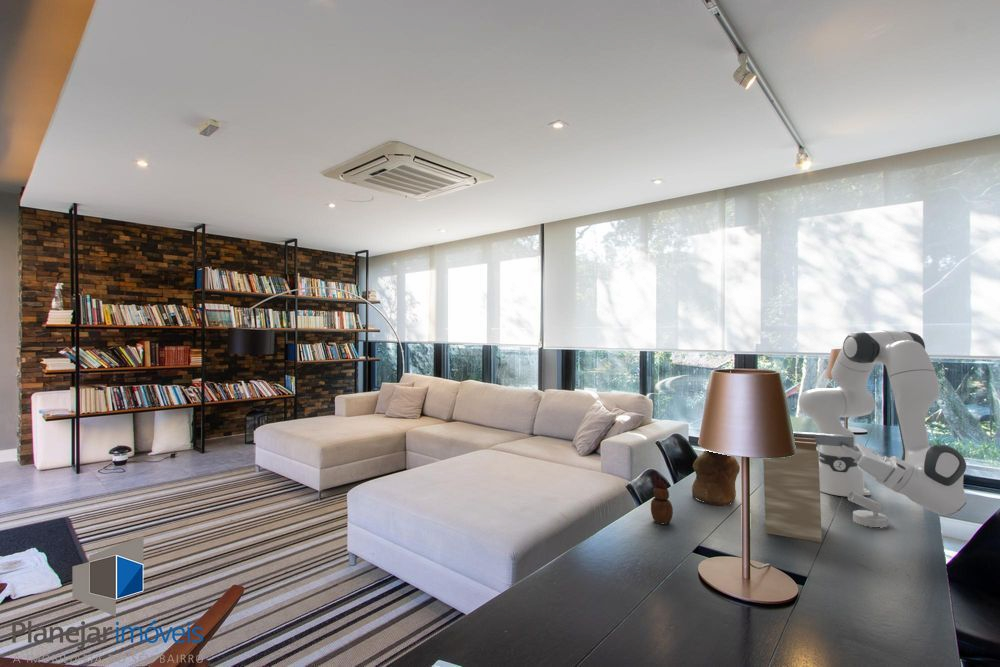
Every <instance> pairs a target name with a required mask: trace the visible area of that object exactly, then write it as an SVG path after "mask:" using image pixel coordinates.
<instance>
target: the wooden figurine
mask: <svg viewBox="0 0 1000 667" xmlns="http://www.w3.org/2000/svg"><path fill="white" fill-rule="evenodd" d="M661 479H662V478H661V476H658V478H657V475H656V474H654V488H653V492H652V493H653V498H652V500H651V502H650V512H651V516H652V519H653V520H654V522H656V523H657V522H659V523H664V524H663V525H666V524H665V523H668V524H669V523H671V521H672V518H673V514H674V509H673V505H672V502H671V501H670V500H669V498H670V491H669V489H668V487H667V483H666V482H665V483H664V480H661ZM659 523H658V524H659Z"/></svg>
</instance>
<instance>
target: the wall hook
mask: <svg viewBox="0 0 1000 667" xmlns="http://www.w3.org/2000/svg"><path fill="white" fill-rule="evenodd" d="M847 500H848V501H849V502H852V503H855V504H856V505H859V506H861V507H863V508H866V509H867V510H865V509H857V510H853V511H852V520H853V522H854V523H855V522H856V524H857V523H858V524H857V525H860V524H861V525H860V526H863V525H864V526H863V527H867V526H869V527H868V528H872V527H880V528H879V529H884V528H883V527H886V528H888V527H887V526H889V522H888V521H889V520H888V519H889V518H888V516H887V515H886V514H884V513H881V512H882V510H883V506H882V504H881V503H879V502H878V501H876V500H873V499H871V498H868V497H866V496H865V495H863V496H862V495H859V494H857V493H855V492H850V493H849V495H848V497H847Z"/></svg>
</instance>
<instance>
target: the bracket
mask: <svg viewBox="0 0 1000 667" xmlns="http://www.w3.org/2000/svg"><path fill="white" fill-rule="evenodd" d="M792 431H793V430H792ZM793 434H794V437H799V438H813V439H815V443H816V444H817V446H818V445H819V446H820V445H830V446H842V445H845V446H847V447H854V438H853V436H852V435H840V434H825V433H819V432H809V431H808V432H806V431H793Z"/></svg>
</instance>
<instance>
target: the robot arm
mask: <svg viewBox="0 0 1000 667" xmlns="http://www.w3.org/2000/svg"><path fill="white" fill-rule="evenodd" d="M842 344H843V345H842V347H841V348H840V351H839V352H838V355H837V357H836V359H835V362H834V363H833V366H832V368H831V371H830V378H831V380H832V381H833V382H834V383H836V384H837V385H838V386H837V387H833V388H831V387H830V388H812V389H808V390H805V391H803V392H802V393H801V394H800V395H799V398H798V405H799V408H800V410H801V411H802V413H803V414H804V415H805V416H807V417H808V418H810V420H812V421H813V423H814V424H815V426H816V428H817V431H818V433H825V434H840V435H852V436H853V438H854V447H847V446H845V445H842V446H830V445H819V446H820V451H819V478H820V493H821V492H822V493H824V494H828V495H834V496H840V497H847V498H848V495H849V493H850V492H855V493H857V494H859V495H862V496H871V493H872V492H871V491H870V490H868V489H867V488H866V487H865V478H864V477H865V476H864V471H865V472H866V473H867V474H869V475H871V476H873V477H874V478H875V481H876V482H877V483H879V484H881V485H883V486H884V487H886V488H888V489H890V490H892V491H894V493H898V494H900V495H904V496H905V497H907V498H908V499H909V500H910V501H912V502H913V503H915V504H917V505H919V506H920V507H923V508H925V509H927V510H928V511H930V512H933V513H935V514H938V515H941V516H949V515H954V514H956V513H957V512H959V511H960V510H961V509H962V508H964V506H965V505H966V504H967V501H968V496H967V495H966V493H965V490H964V476H965V472H966V470H967V462H966V460H965V458H964V456H963V455H962V454H961V452H959V451H958V450H957V449H955V448H954V447H951V446H949V445H947V444H946V445H945V444H934V445H930V440H929V436H928V432H927V431H928V430H927V426H926V420H927V419H926V418H927V415H928V413H929V410H930V409H931V408H932V406H933V404H934V403H935V402H936V401H937V399H938V398H939V396H940V382H939V379H938V375H937V372H936V369H935V366H934V364H933V362H932V360H931V358H930V356H929V354H928V352H927V351H926V344H925V342H924V339H923V338H922V336H921V335H919V334H917V333H914V332H911V331H905V330H904V331H897V330H884V329H883V330H872V331H871V330H870V331H869V330H868V331H863V330H862V331H855V332H852V333H851V332H850V333H849V334H848V335H847V336H846V337H845V338H844V341H843V343H842ZM876 365H884V367H885V368H886V372H887V376H888V380H889V383H890V384H889V385H890V388H891V390H892V391H891V392H892V395H893V399H894V405H895V411H896V418H897V424H898V425H897V426H898V428H899V429H898V431H899V434H900V438H901V439H900V440H901V444H902V455H901V456H902V457H901V458H899V457H897V456H896V455H892V456H890V457H888V456H886V455H884V456H882V455H881V454H879V453H878V452H876V451H874V450H872V449H871V448H869V447H866V446H865V445H863V444H861V443H859V442H856V436H855V434H854V432H853V431H851V429H848V428H846V427H845V426H843V425H842V422H841V418H858V417H863V416H867V415H871V413H873V411H874V409H875V407H876V401H875V397H874V396H873V394H872V393H871V392H870V391H869V390H868V389H867V383H868V381H869V379H870V376H871V374H872V372H873V370H874V368H875V366H876Z"/></svg>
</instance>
